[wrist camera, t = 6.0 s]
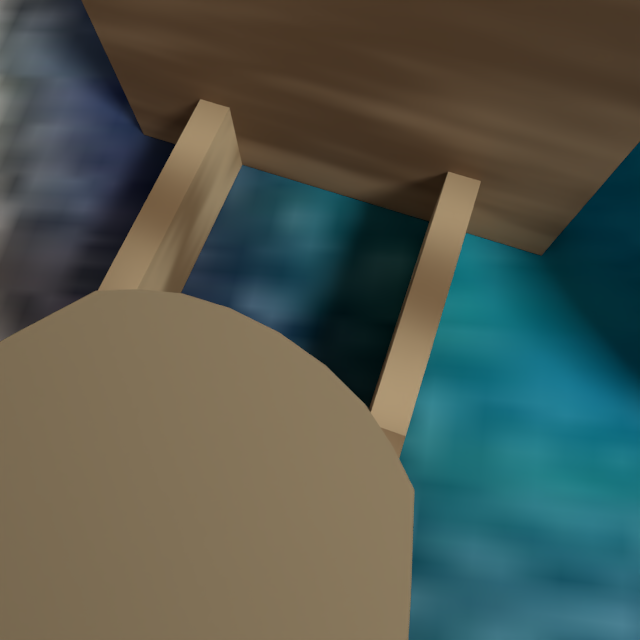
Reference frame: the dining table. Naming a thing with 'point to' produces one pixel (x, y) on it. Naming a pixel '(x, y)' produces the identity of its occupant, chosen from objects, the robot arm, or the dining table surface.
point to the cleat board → (377, 126)
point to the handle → (191, 483)
